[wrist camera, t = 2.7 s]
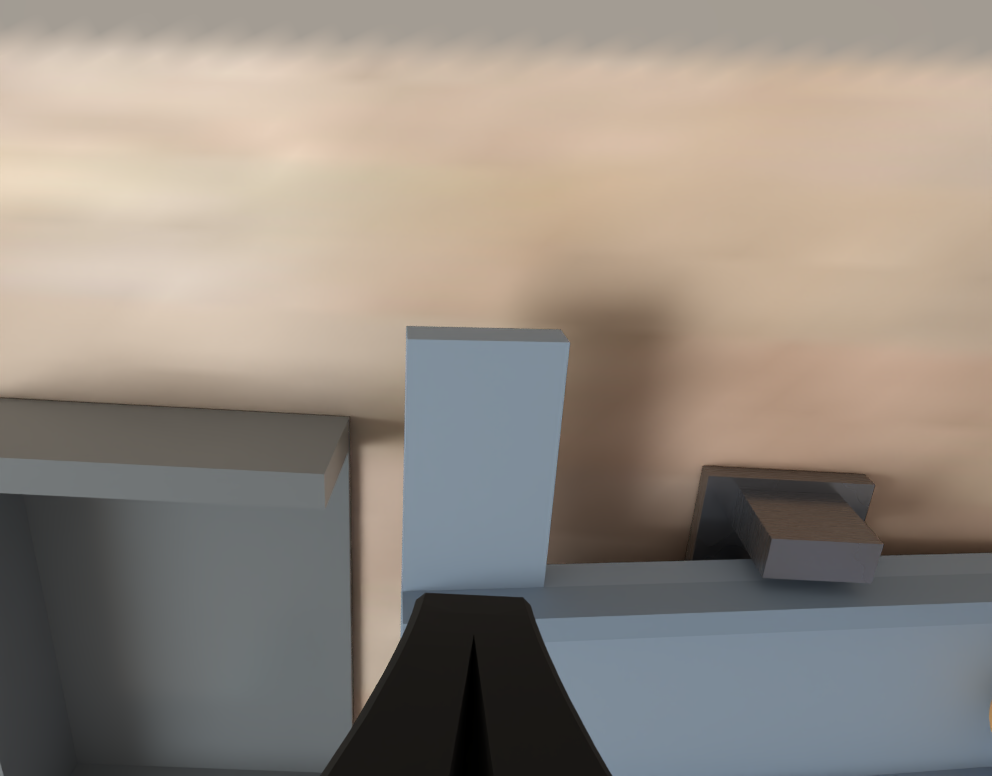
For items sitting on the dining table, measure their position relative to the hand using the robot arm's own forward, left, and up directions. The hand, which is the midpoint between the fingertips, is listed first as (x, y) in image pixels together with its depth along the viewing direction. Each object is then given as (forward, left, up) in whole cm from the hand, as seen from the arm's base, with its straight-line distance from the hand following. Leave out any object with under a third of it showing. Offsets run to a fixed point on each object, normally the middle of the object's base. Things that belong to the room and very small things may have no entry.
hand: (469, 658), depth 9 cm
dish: (-7, +7, -8) cm, 13 cm away
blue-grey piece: (-4, -7, -7) cm, 11 cm away
